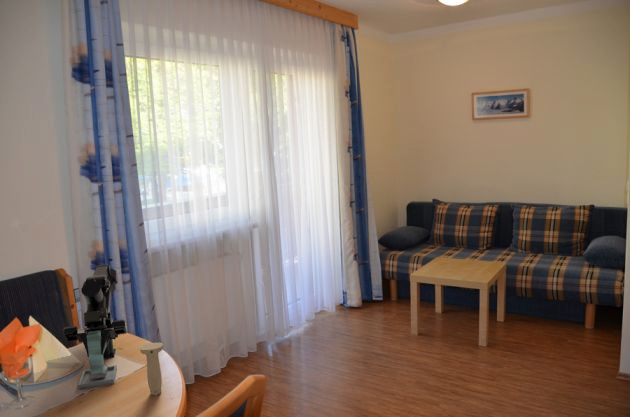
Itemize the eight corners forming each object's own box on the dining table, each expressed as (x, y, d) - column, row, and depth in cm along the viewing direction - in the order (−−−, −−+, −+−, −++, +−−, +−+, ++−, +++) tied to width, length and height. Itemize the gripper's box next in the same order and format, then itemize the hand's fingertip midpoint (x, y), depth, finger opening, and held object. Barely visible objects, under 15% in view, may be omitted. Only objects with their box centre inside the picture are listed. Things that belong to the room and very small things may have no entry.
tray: (84, 374, 166) (83, 370, 166) (117, 369, 169) (116, 365, 169) (78, 389, 156) (78, 384, 156) (114, 383, 159) (113, 379, 159)
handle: (167, 395, 151) (162, 347, 149) (144, 399, 149) (139, 351, 147) (166, 387, 155) (162, 341, 153) (145, 391, 154) (140, 344, 151)
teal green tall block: (91, 372, 164) (86, 331, 162) (107, 369, 166) (102, 329, 163) (88, 379, 159) (83, 337, 157) (105, 376, 161) (101, 335, 159)
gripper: (60, 303, 160) (57, 350, 151) (122, 296, 165) (123, 341, 156) (67, 318, 169) (65, 363, 160) (126, 310, 174) (127, 354, 165)
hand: (95, 355), depth 160 cm, fingers closed on teal green tall block, 4 cm apart
